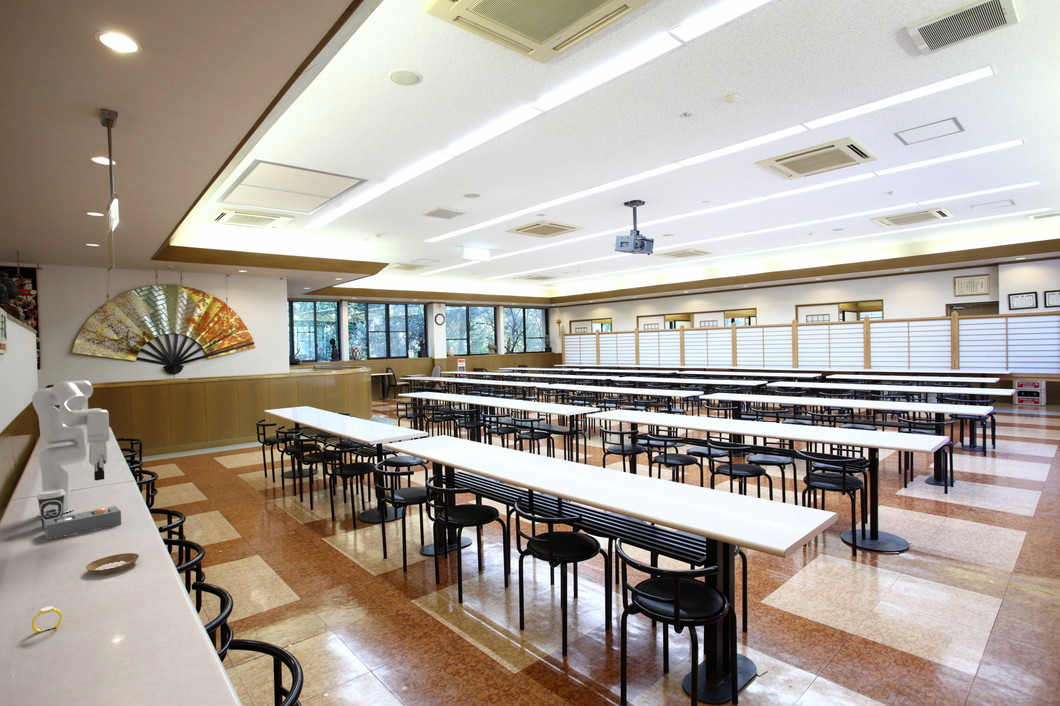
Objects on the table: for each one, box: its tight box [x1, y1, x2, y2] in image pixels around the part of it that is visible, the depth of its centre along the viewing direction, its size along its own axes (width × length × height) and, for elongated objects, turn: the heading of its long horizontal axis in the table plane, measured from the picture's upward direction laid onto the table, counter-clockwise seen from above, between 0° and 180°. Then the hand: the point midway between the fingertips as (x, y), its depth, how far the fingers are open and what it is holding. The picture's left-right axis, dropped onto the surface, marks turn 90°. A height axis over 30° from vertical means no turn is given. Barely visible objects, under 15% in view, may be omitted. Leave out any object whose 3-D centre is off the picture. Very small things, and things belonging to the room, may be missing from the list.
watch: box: [31, 605, 63, 633], centre depth 143 cm, size 6×3×6 cm, turn 130°
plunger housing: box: [43, 505, 122, 540], centre depth 226 cm, size 11×24×6 cm, turn 139°
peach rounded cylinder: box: [92, 507, 108, 515], centre depth 230 cm, size 5×5×6 cm
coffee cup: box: [36, 489, 66, 528], centre depth 232 cm, size 10×10×15 cm
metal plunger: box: [57, 517, 73, 522], centre depth 221 cm, size 5×5×6 cm
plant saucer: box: [84, 552, 140, 575], centre depth 184 cm, size 15×15×3 cm
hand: (99, 479), depth 230 cm, fingers closed
